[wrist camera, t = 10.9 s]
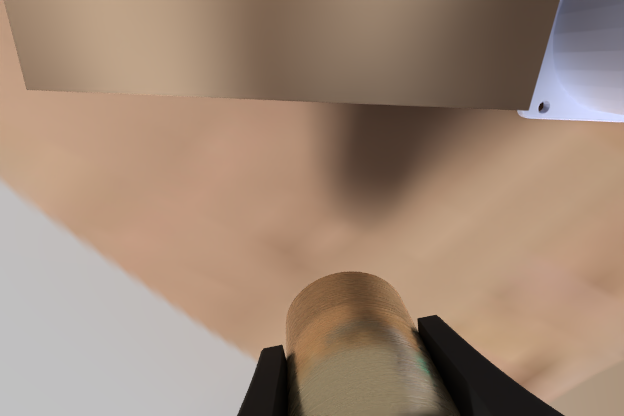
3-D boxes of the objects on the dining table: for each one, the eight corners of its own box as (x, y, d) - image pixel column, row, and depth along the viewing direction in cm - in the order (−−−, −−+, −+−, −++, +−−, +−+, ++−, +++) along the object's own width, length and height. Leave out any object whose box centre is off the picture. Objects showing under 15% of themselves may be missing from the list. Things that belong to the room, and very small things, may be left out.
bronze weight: (413, 271, 12) (495, 400, 7) (395, 364, 14) (452, 516, 9) (287, 272, 12) (291, 409, 7) (284, 368, 13) (287, 529, 9)
